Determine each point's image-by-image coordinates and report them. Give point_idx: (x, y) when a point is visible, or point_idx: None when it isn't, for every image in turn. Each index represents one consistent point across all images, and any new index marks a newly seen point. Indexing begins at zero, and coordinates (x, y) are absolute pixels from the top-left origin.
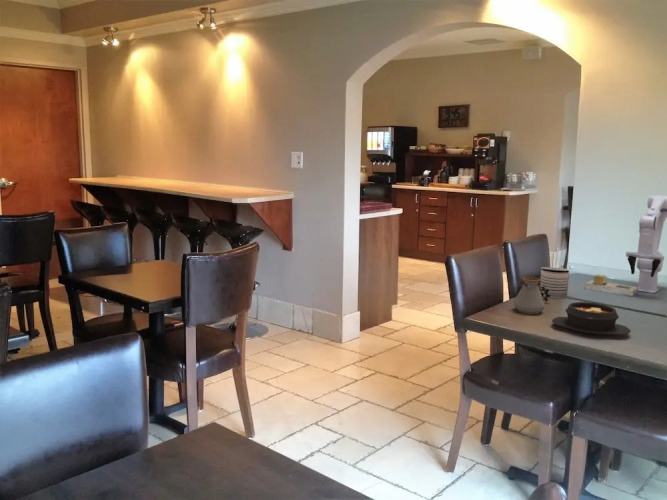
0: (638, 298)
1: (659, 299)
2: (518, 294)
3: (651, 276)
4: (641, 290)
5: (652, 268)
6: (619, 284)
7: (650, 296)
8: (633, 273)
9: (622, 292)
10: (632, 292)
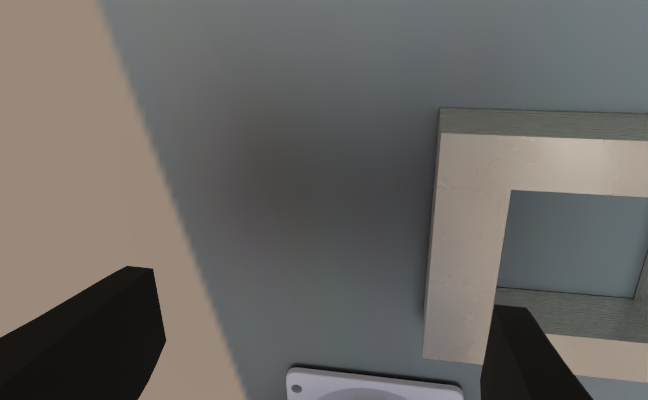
0: (355, 40)
1: (175, 163)
2: None
3: (136, 271)
4: (400, 384)
5: (2, 374)
6: (644, 378)
7: (281, 238)
8: (490, 338)
9: (573, 121)
10: (445, 123)
